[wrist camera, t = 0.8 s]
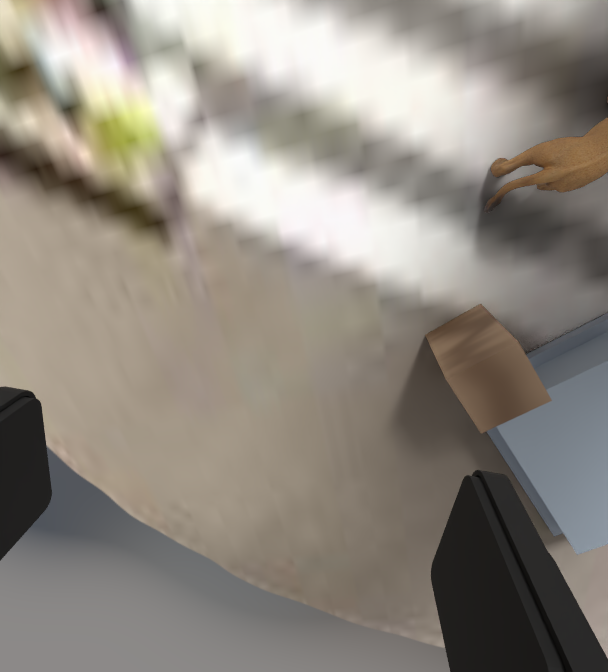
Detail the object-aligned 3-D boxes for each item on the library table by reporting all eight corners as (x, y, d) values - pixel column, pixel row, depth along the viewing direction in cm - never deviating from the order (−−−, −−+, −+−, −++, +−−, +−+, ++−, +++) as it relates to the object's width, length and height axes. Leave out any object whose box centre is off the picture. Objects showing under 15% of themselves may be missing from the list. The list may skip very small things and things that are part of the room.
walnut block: (480, 303, 33) (518, 342, 26) (508, 351, 34) (552, 400, 27) (425, 334, 35) (446, 379, 27) (453, 379, 36) (481, 433, 28)
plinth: (611, 310, 32) (645, 329, 28) (692, 477, 37) (730, 511, 33) (459, 388, 36) (471, 413, 32) (550, 529, 41) (570, 565, 37)
